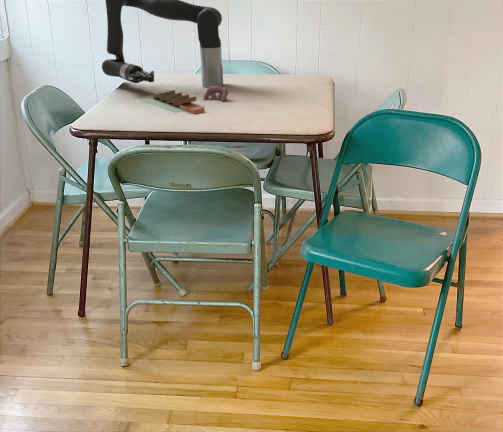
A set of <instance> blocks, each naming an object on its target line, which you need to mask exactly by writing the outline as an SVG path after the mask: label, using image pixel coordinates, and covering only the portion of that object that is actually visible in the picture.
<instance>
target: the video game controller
mask: <svg viewBox="0 0 503 432" xmlns="http://www.w3.org/2000/svg"><path fill="white" fill-rule="evenodd" d="M217 94H218V95H217ZM228 95H229V90H228V88H227V87H224V86H209V87H207V89H206V90H205V92H204V95H203V101H207V100H208V99H209V98H210V99H212V100H216V99H218V101H219V100H220V101H221V102H222V103H224V102H226V100H227V98H228Z"/></svg>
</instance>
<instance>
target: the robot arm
mask: <svg viewBox="0 0 503 432" xmlns="http://www.w3.org/2000/svg"><path fill="white" fill-rule="evenodd" d="M123 6H124V7H131V8H136V9H140V10H142V11H144V12H146V13H148V14H150V15H151V16H155V17H156V18H157V17H158V18H161V19H165V20H169V21H183V22H190V23H194V24H196V28H197V36H198V37H197V38H198V39H197V40H198V42H199V49H200V50H199V51H200V67H201V85H202V87H204V88H209V86H222V87H224V71H223V69H224V68H223V59H222V42H221V39H220V34H219V33H220V32H219V26H220V25H222V24H221V23H222V22H223V16H222V13H221V12H220V11H219V10H218V9H217V8H215V7H211V6H210V7H209V6H205V5H196V4H192V3H189V2H186V1H183V0H105V7H106V15H107V16H106V17H107V18H106V19H107V41H106V52H107V53H108V54H109V55H113V56H115V58H113V59H112V58H111V59H105V60H104V61H103V62H102V64H101V69H102V72H103V73H104V74H105V75H106V76H109V77H118V78H121V79H123V80H126V82H127V81H128V82H131V83H133V84H139V83H143V82H148V83H154V82H155V71H154V70H151V71H145V69H143V67H142V66H140V65H136V64H133V63H128V62H126V61H125V57H124V30H123V28H122V27H123V26H122V9H123Z"/></svg>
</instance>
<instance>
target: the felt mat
mask: <svg viewBox="0 0 503 432" xmlns="http://www.w3.org/2000/svg"><path fill="white" fill-rule="evenodd" d="M153 95H154V94H152V95H147V96H142V97H137V100H140V101H143V102H146V103H147V104H150V105H153V106H155V107H158V108H161V109H164V110H167V111H169V112H172V113H175V114H177V113H181V112H182V113H183V112H186V111H185V110H182V109H180V106H179V105H178V106H173V103H170V104H167V102H166V100H165V101H160V99H159V98H157V99H154V98H153ZM190 103H193V104H196V105H199V106H202V107H204V108H205V105H202V104H199V103H197V102H195V101H193V102H190Z"/></svg>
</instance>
